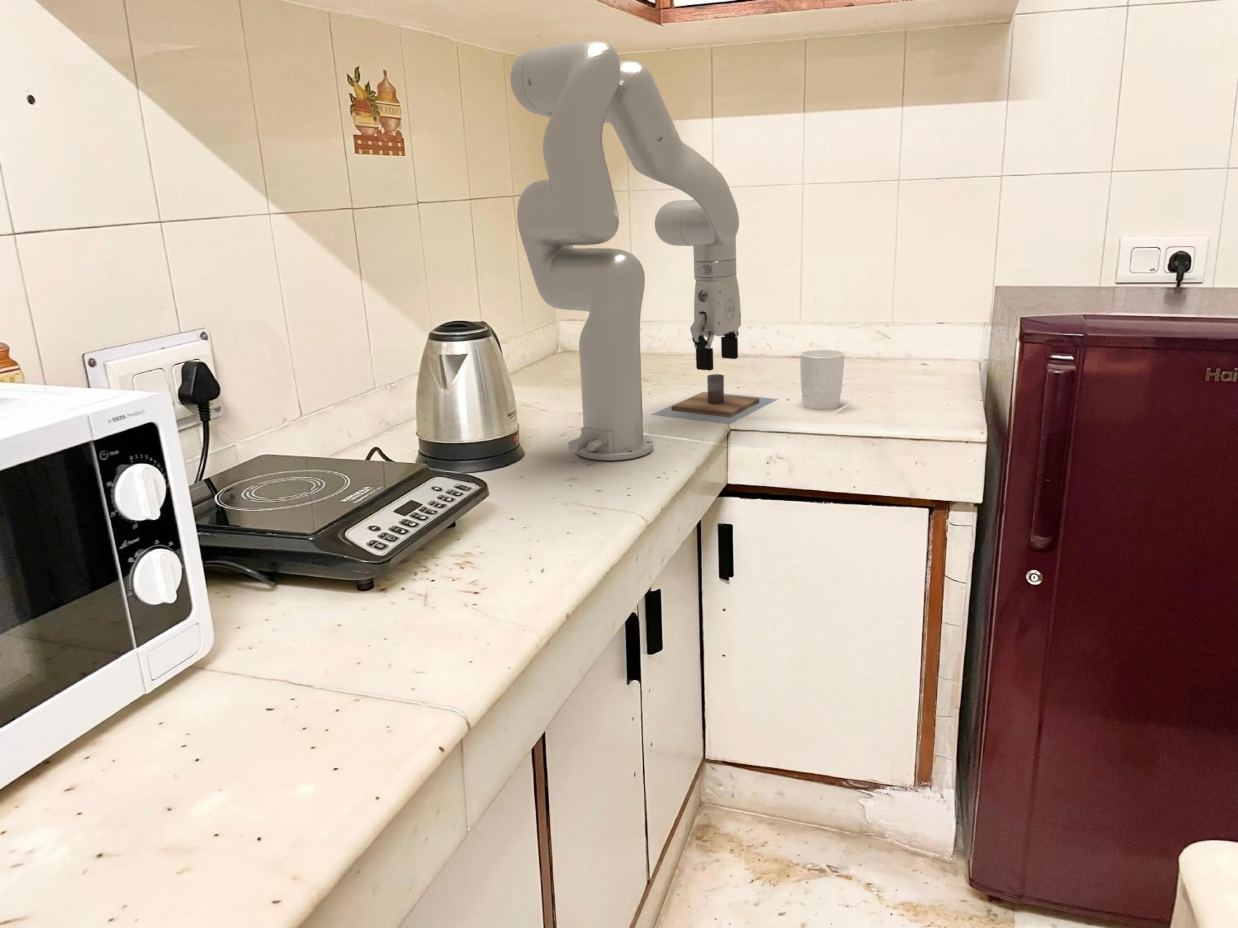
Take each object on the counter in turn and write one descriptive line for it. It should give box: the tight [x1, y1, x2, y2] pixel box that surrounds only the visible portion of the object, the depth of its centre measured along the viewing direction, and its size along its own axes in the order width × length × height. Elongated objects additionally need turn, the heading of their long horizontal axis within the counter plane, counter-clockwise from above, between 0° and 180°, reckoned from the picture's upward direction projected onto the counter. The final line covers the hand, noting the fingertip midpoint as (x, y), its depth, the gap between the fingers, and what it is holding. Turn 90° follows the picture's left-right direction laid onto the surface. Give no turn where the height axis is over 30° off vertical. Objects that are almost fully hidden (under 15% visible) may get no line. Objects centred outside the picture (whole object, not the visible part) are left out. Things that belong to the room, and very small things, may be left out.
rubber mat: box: [651, 391, 779, 425], centre depth 171 cm, size 20×16×1 cm
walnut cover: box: [672, 373, 759, 417], centre depth 170 cm, size 12×12×6 cm
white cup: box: [799, 349, 846, 411], centre depth 167 cm, size 8×8×10 cm
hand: (717, 363), depth 169 cm, fingers open, 9 cm apart
